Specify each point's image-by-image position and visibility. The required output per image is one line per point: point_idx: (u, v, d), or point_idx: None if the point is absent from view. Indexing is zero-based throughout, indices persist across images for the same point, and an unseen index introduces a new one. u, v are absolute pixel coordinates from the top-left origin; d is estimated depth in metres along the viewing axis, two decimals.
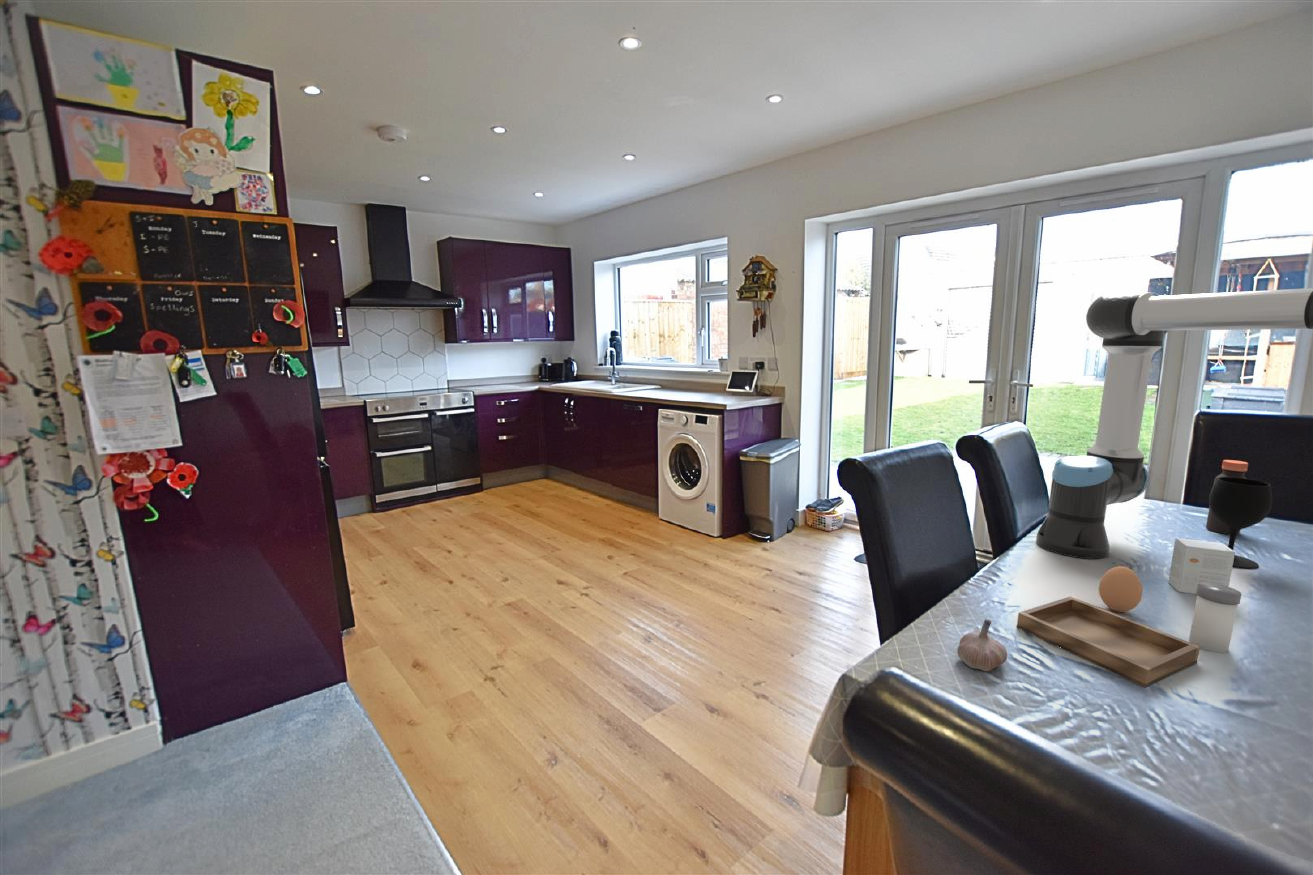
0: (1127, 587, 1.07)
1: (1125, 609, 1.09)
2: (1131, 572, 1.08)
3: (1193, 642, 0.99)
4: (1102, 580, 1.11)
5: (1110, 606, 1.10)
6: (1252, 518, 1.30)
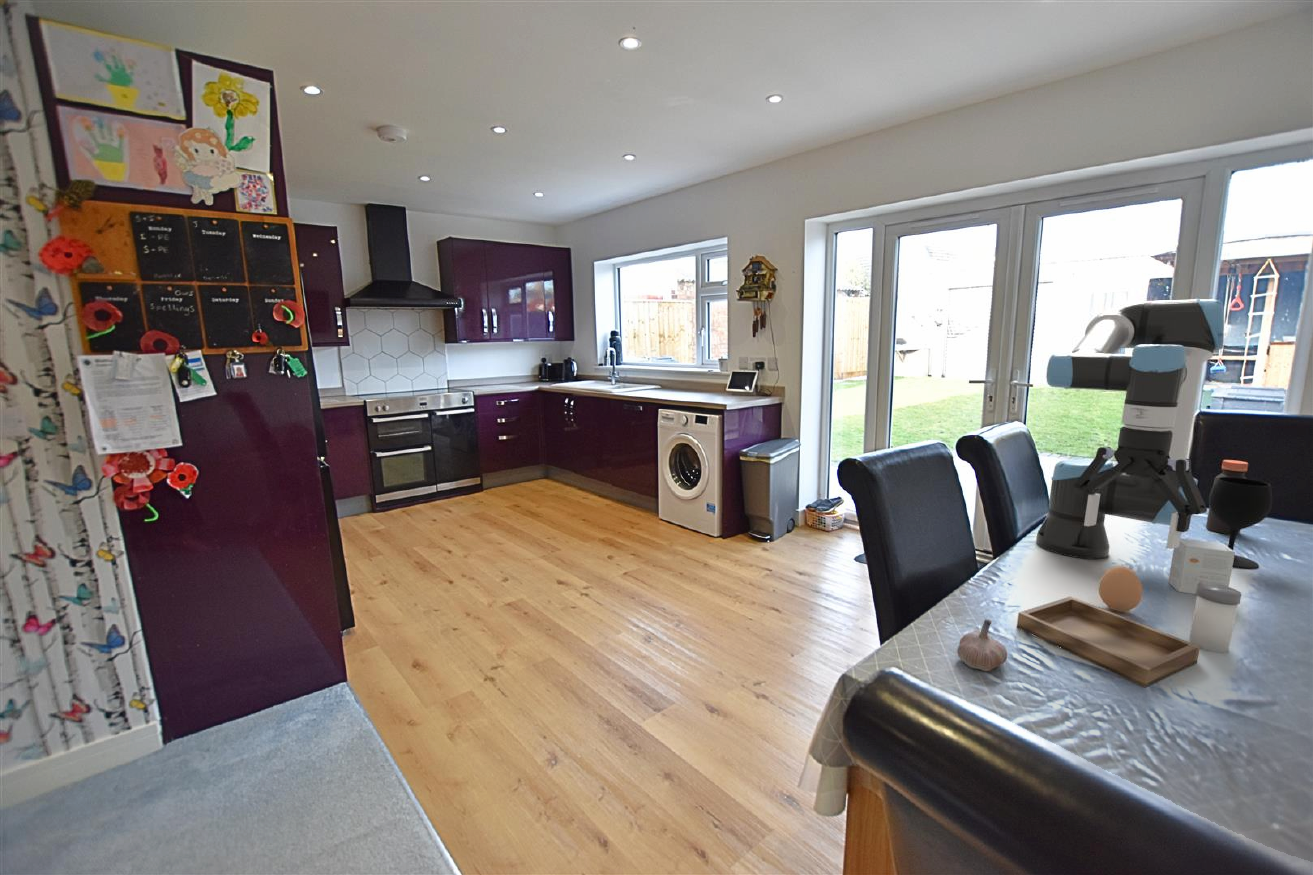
0: (1127, 587, 1.07)
1: (1125, 609, 1.09)
2: (1131, 572, 1.08)
3: (1193, 642, 0.99)
4: (1102, 580, 1.11)
5: (1110, 606, 1.10)
6: (1252, 518, 1.30)
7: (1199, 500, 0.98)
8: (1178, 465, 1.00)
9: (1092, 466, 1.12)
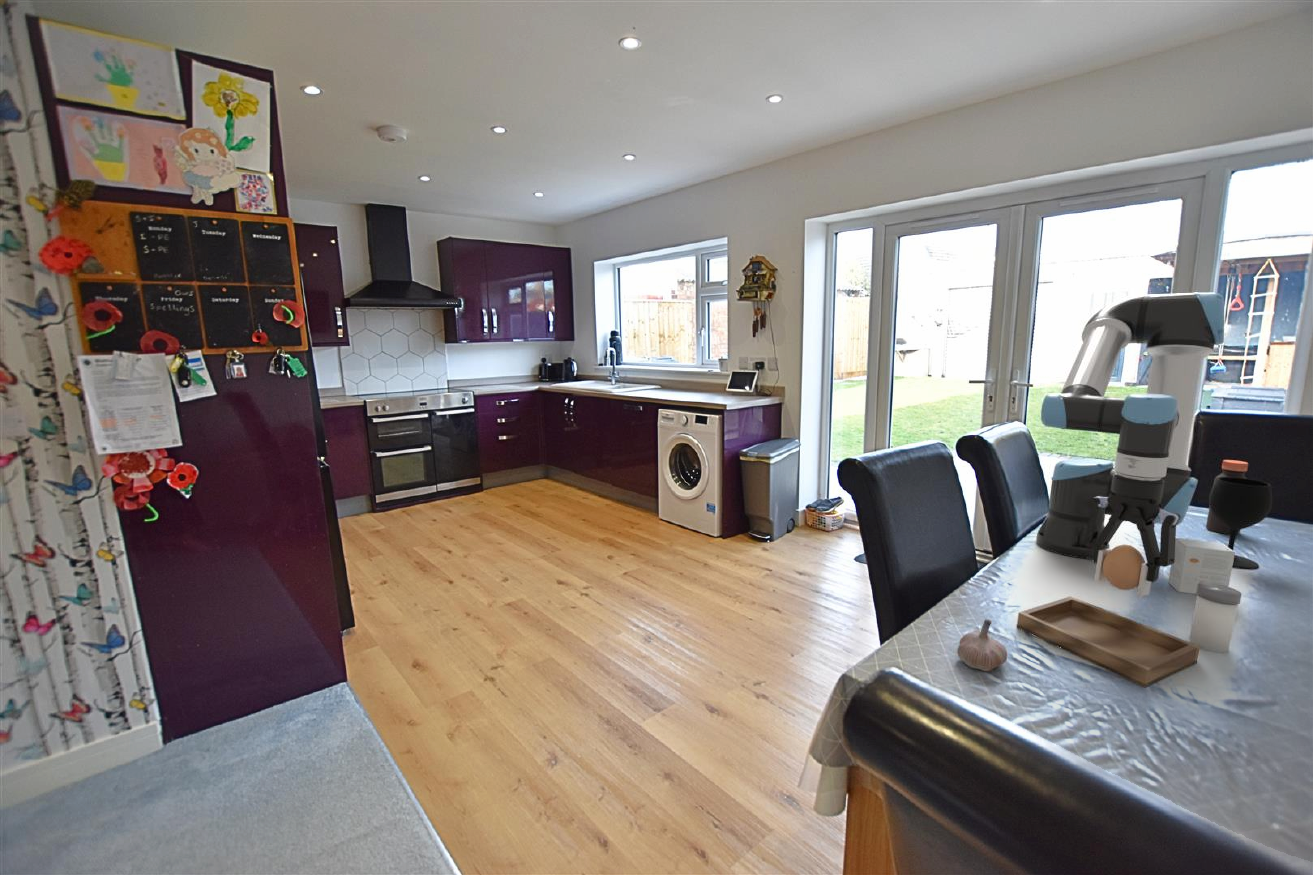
0: (1131, 565, 1.07)
1: (1129, 588, 1.08)
2: (1135, 550, 1.08)
3: (1193, 642, 0.99)
4: (1106, 559, 1.11)
5: (1114, 584, 1.10)
6: (1252, 518, 1.30)
7: (1171, 554, 1.03)
8: (1167, 520, 1.02)
9: (1093, 517, 1.13)
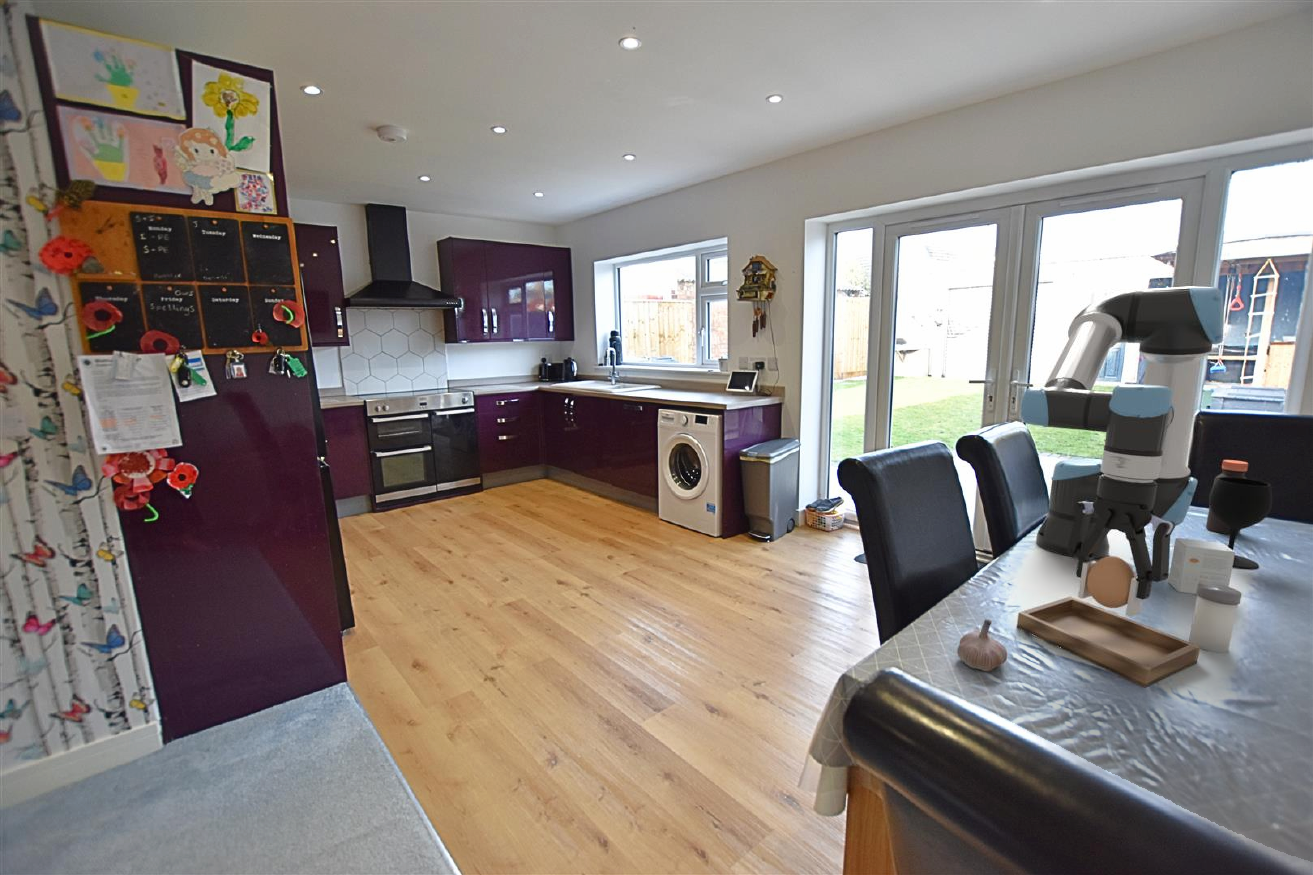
0: (1119, 579, 0.94)
1: (1117, 605, 0.95)
2: (1124, 563, 0.95)
3: (1193, 642, 0.99)
4: (1091, 572, 0.98)
5: (1100, 602, 0.96)
6: (1252, 518, 1.30)
7: (1164, 568, 0.90)
8: (1160, 528, 0.89)
9: (1077, 525, 1.00)
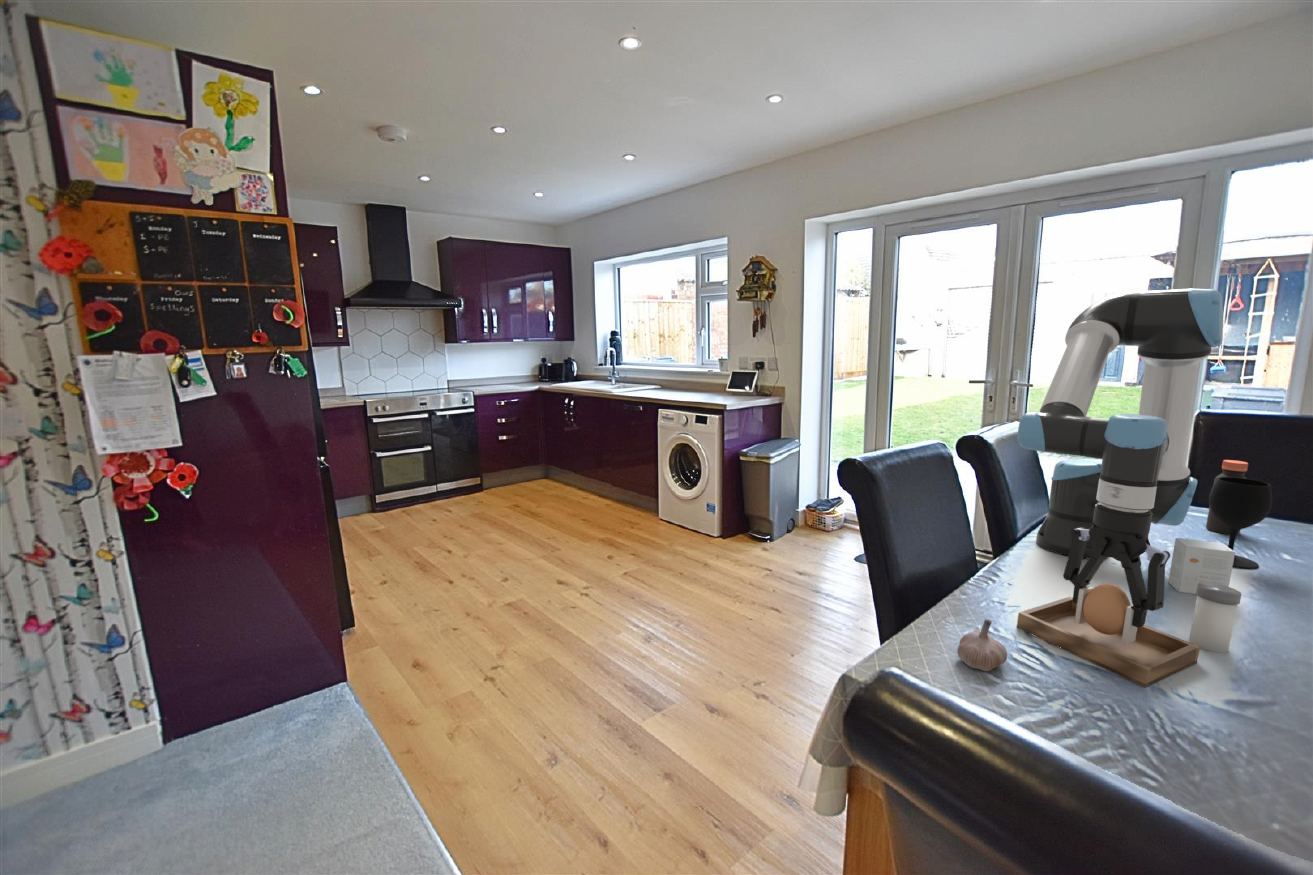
0: (1115, 607, 0.95)
1: (1113, 632, 0.96)
2: (1119, 590, 0.96)
3: (1193, 642, 0.99)
4: (1087, 599, 0.98)
5: (1096, 628, 0.98)
6: (1252, 518, 1.30)
7: (1159, 597, 0.91)
8: (1155, 558, 0.90)
9: (1073, 552, 1.01)
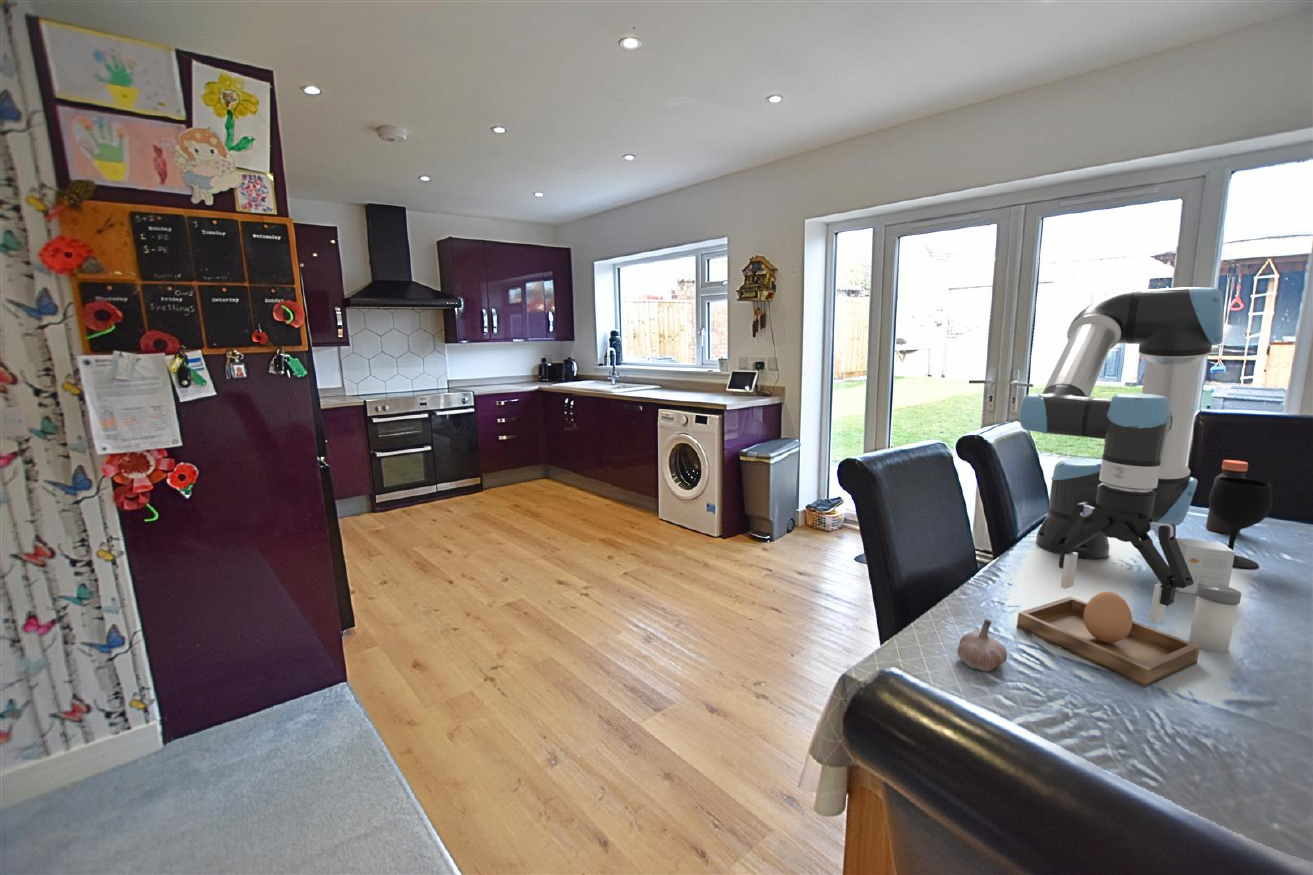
0: (1116, 615, 0.95)
1: (1113, 641, 0.96)
2: (1120, 599, 0.96)
3: (1193, 642, 0.99)
4: (1087, 607, 0.99)
5: (1096, 636, 0.98)
6: (1252, 518, 1.30)
7: (1185, 572, 0.88)
8: (1161, 532, 0.89)
9: (1068, 524, 1.01)
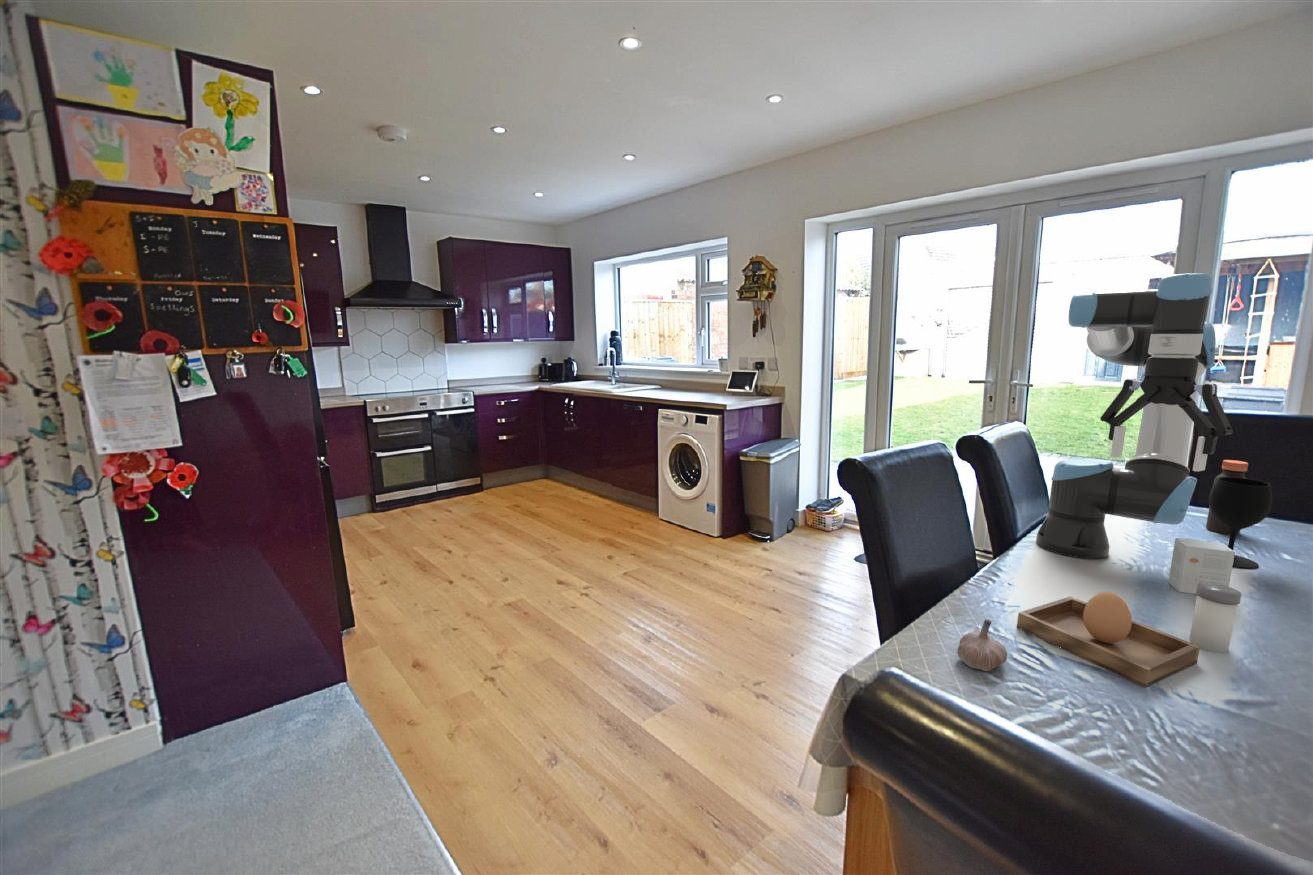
0: (1115, 616, 0.95)
1: (1113, 641, 0.96)
2: (1119, 599, 0.96)
3: (1193, 642, 0.99)
4: (1087, 607, 0.99)
5: (1096, 637, 0.98)
6: (1252, 518, 1.30)
7: (1225, 422, 1.02)
8: (1204, 389, 1.03)
9: (1118, 398, 1.16)
